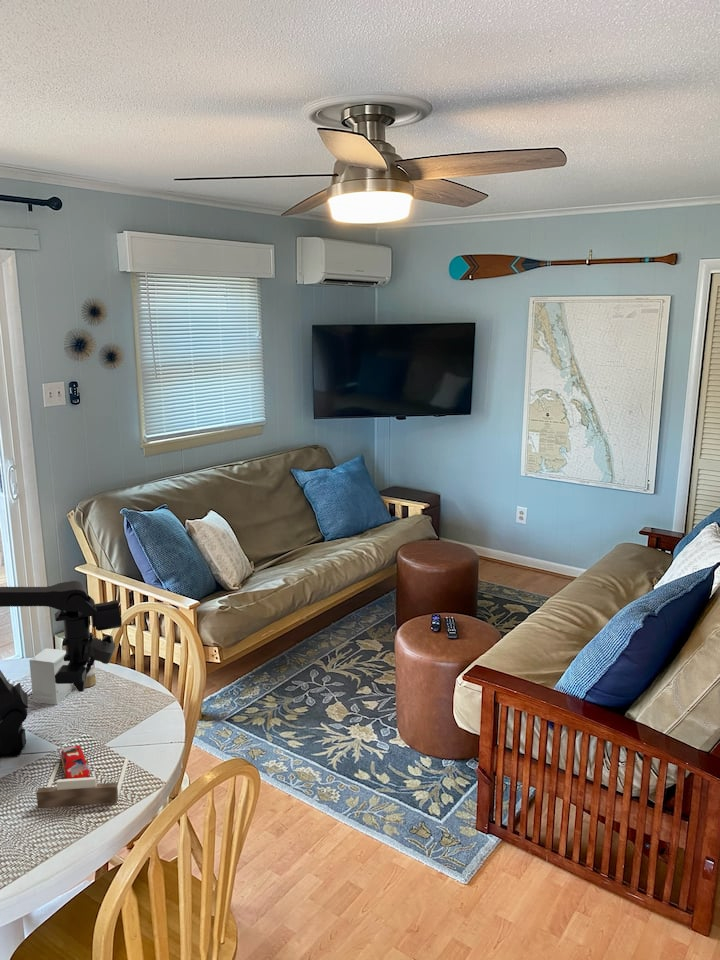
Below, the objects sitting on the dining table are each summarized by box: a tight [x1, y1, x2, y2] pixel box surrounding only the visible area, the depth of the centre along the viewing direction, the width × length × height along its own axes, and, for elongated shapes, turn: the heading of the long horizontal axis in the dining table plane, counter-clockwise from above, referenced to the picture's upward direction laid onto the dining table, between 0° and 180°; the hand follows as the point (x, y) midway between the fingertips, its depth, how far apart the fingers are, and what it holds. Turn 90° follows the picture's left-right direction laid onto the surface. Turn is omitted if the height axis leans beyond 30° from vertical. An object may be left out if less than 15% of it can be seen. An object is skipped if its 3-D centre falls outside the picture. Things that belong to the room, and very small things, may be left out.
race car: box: [59, 745, 91, 779], centre depth 169 cm, size 13×5×4 cm, turn 28°
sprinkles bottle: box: [85, 661, 97, 688], centre depth 205 cm, size 5×5×13 cm
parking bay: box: [36, 757, 130, 809], centre depth 164 cm, size 16×16×6 cm
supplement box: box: [29, 647, 72, 706], centre depth 198 cm, size 7×7×13 cm
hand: (81, 691), depth 180 cm, fingers closed
